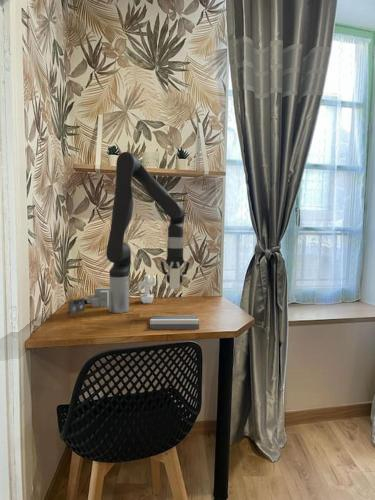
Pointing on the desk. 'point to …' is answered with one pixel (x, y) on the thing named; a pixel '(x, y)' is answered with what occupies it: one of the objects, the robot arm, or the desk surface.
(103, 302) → the grey stepped block
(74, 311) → the mini dv tape
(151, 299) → the white potted plant
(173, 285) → the tea carton
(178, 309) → the desk surface
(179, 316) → the shelf board
